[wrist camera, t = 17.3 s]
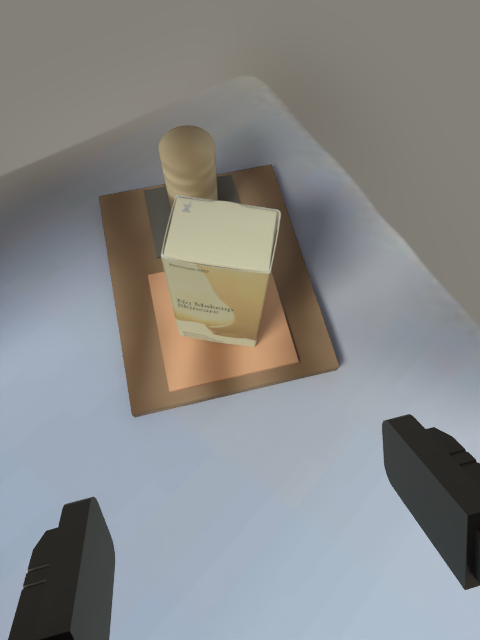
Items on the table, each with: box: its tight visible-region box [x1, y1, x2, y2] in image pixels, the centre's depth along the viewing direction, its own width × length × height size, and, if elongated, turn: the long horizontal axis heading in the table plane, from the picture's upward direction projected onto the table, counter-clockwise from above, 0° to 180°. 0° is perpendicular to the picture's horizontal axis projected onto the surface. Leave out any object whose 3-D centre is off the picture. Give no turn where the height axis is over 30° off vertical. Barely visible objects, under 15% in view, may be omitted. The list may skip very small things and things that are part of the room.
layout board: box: [99, 126, 339, 417], centre depth 35 cm, size 16×20×9 cm
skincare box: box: [161, 195, 281, 347], centre depth 31 cm, size 6×4×12 cm
